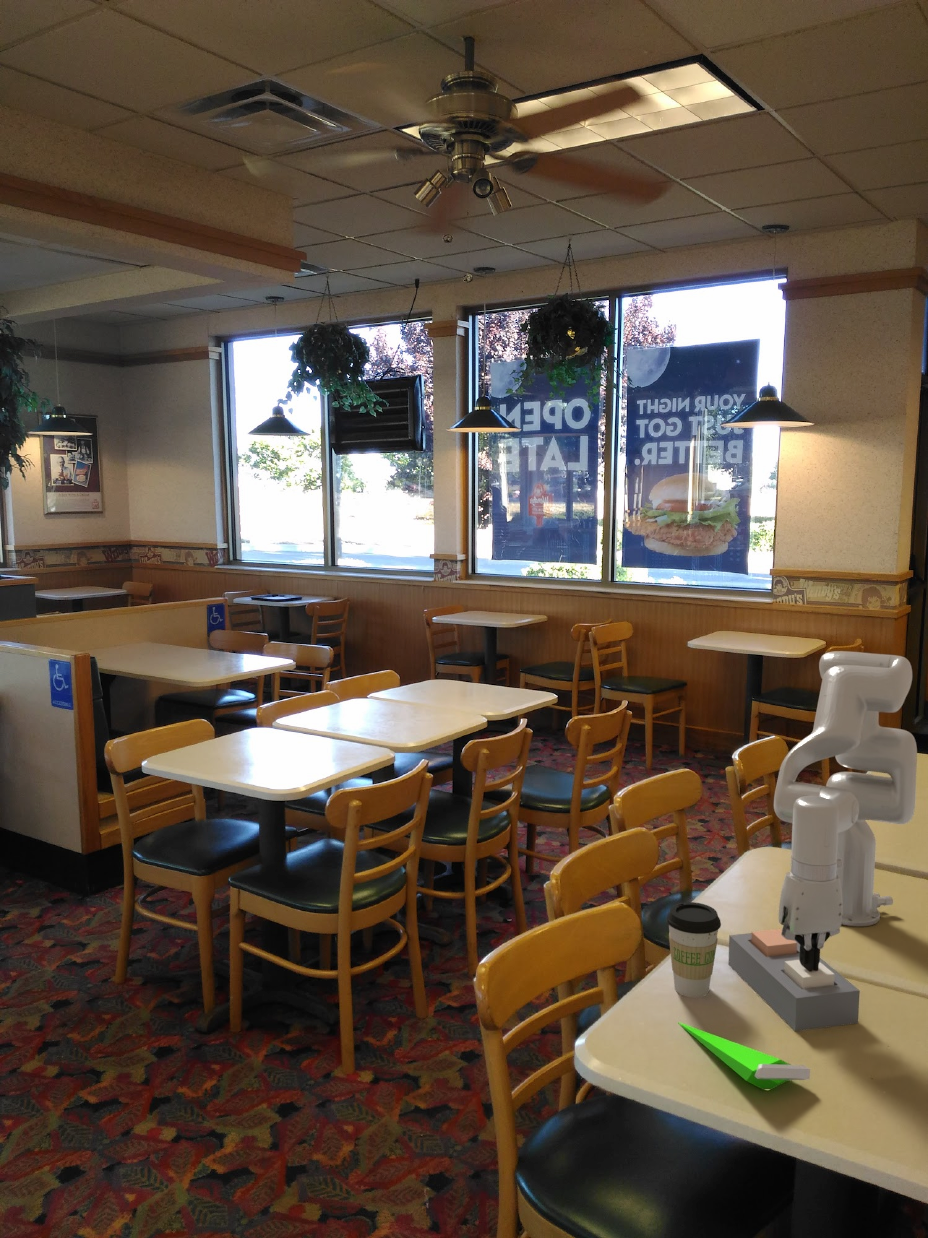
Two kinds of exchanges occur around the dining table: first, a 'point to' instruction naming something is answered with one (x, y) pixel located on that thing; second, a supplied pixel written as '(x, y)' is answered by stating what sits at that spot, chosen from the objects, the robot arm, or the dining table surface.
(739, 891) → the dining table surface
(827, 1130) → the dining table surface
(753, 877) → the dining table surface
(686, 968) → the coffee cup
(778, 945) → the terracotta key
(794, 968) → the cream key
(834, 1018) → the key panel
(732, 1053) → the green triangular piece
